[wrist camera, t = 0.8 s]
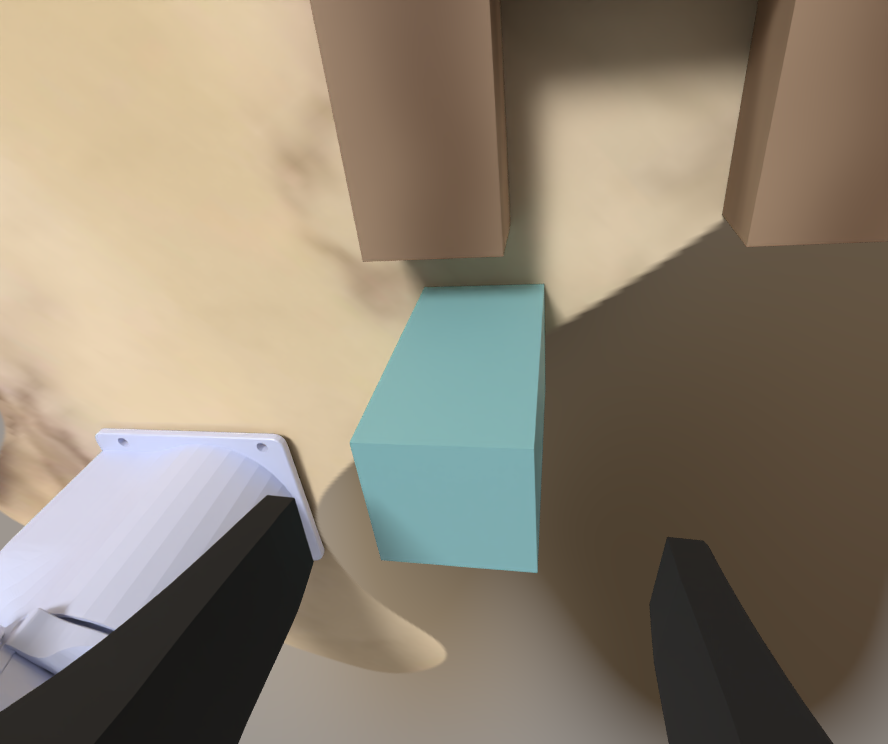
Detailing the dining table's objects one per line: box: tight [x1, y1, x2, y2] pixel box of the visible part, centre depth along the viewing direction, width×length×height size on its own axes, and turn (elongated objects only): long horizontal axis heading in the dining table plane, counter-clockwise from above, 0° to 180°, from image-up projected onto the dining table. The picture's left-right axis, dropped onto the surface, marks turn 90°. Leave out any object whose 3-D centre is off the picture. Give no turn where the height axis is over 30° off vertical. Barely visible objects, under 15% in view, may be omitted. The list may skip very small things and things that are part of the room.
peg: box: [350, 284, 545, 573], centre depth 16 cm, size 4×4×8 cm
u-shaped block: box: [310, 0, 888, 262], centre depth 13 cm, size 14×9×2 cm, turn 97°
